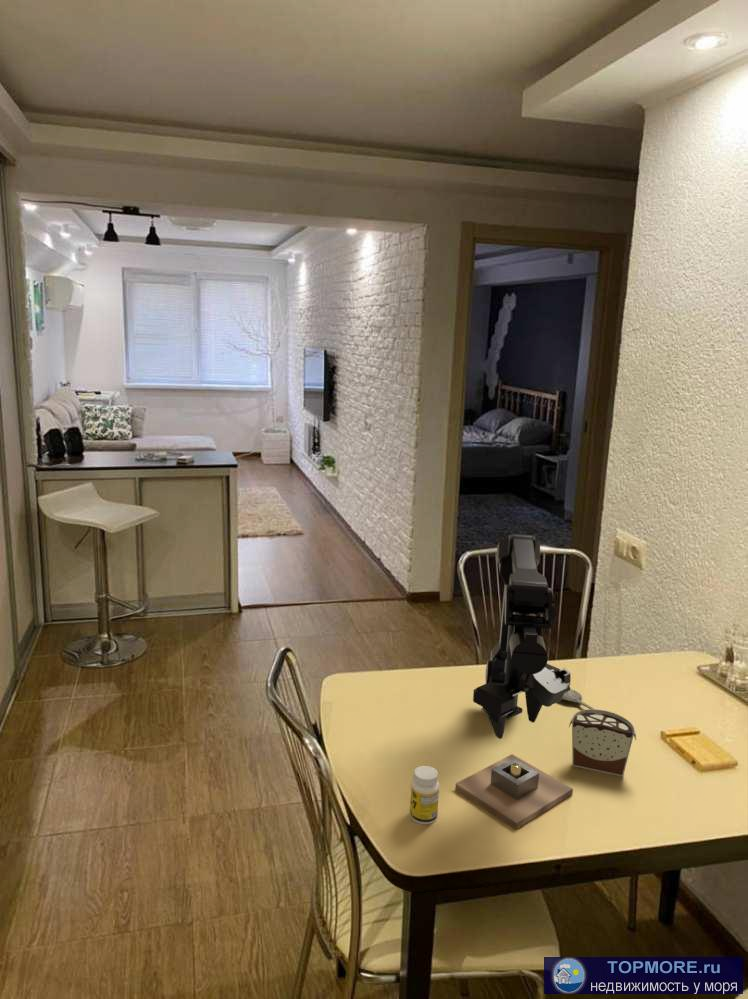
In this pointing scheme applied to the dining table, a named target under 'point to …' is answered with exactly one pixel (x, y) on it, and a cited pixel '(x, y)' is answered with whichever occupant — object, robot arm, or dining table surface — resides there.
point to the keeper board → (508, 807)
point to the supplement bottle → (424, 795)
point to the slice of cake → (601, 741)
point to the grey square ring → (514, 779)
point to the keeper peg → (515, 770)
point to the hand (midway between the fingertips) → (515, 729)
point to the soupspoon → (574, 697)
